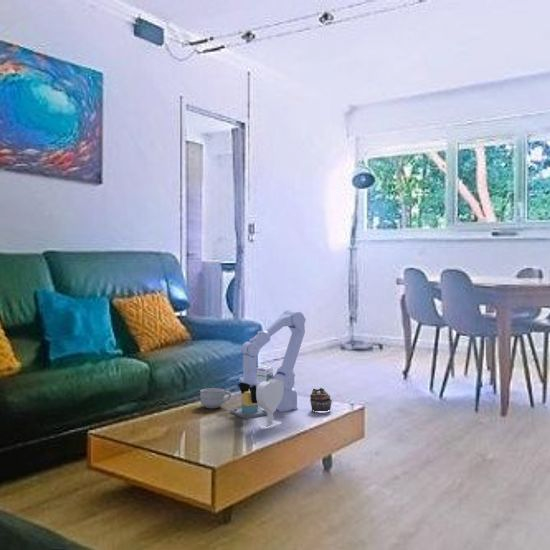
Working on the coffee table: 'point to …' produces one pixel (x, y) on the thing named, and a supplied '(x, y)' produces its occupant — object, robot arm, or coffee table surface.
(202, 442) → the coffee table surface
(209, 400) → the teacup
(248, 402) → the ochre brick
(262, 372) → the syrup box
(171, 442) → the coffee table surface
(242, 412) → the base plate
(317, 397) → the cupcake
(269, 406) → the heart sculpture
